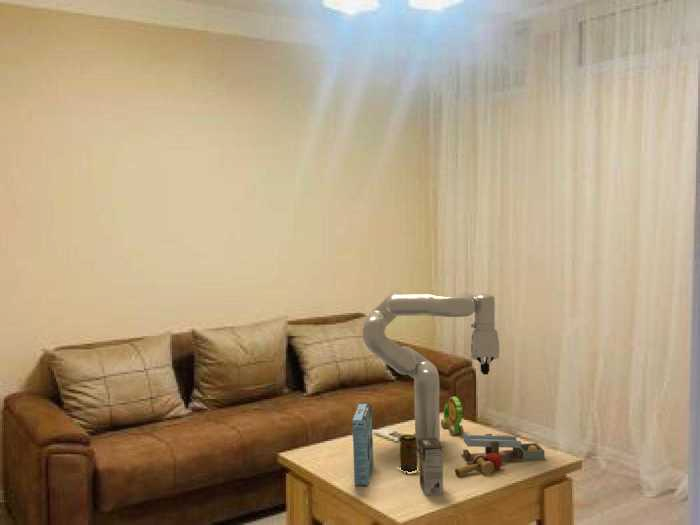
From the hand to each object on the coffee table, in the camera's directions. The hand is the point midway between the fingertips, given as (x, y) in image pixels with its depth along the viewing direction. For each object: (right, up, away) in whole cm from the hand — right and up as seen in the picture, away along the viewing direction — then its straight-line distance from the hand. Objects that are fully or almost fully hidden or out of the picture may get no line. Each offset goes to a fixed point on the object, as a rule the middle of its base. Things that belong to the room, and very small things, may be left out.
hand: (484, 373), depth 268 cm
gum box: (-47, -32, -22) cm, 61 cm away
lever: (0, -24, -7) cm, 25 cm away
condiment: (-30, -32, -18) cm, 48 cm away
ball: (+16, -27, -8) cm, 33 cm away
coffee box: (-25, -33, -36) cm, 55 cm away
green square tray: (+15, -30, -8) cm, 34 cm away
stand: (+1, -30, -10) cm, 31 cm away
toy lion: (-9, -28, +22) cm, 36 cm away
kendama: (-6, -32, -22) cm, 39 cm away
